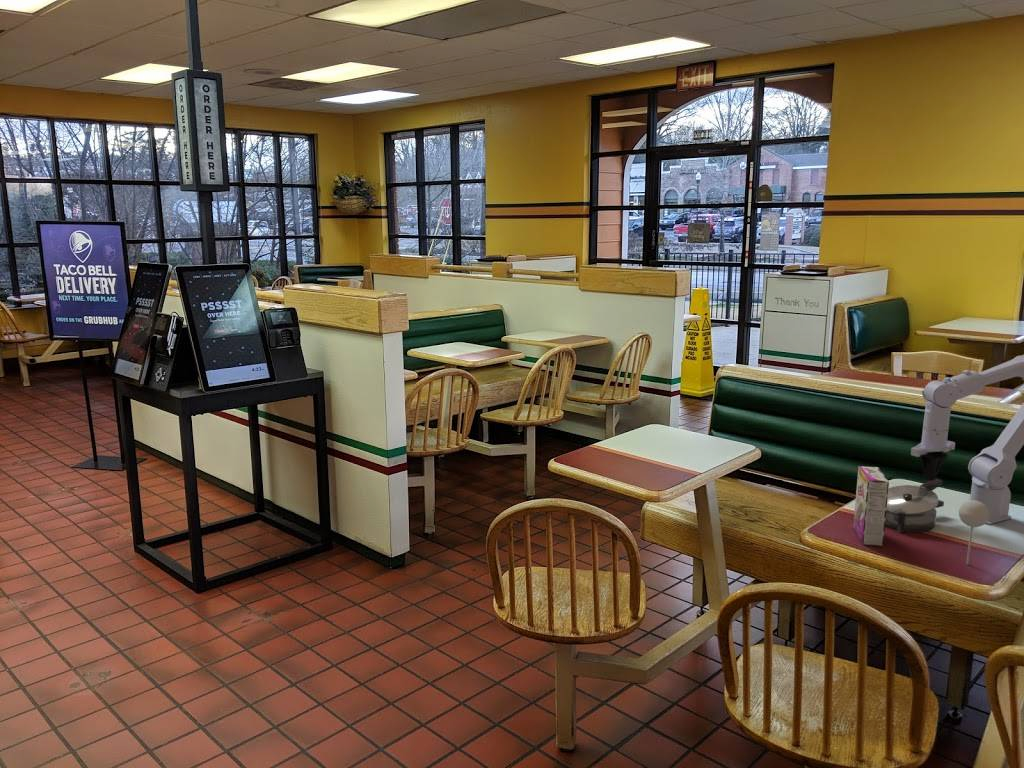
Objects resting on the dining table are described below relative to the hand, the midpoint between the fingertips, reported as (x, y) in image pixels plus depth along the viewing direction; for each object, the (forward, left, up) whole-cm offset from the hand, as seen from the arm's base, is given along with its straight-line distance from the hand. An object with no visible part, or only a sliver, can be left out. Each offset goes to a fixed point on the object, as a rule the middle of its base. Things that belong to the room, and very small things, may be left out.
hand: (929, 479), depth 206 cm
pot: (+5, 0, -10) cm, 11 cm away
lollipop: (+17, +23, -11) cm, 31 cm away
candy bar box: (+24, +2, -11) cm, 27 cm away
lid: (+5, 0, -4) cm, 7 cm away
